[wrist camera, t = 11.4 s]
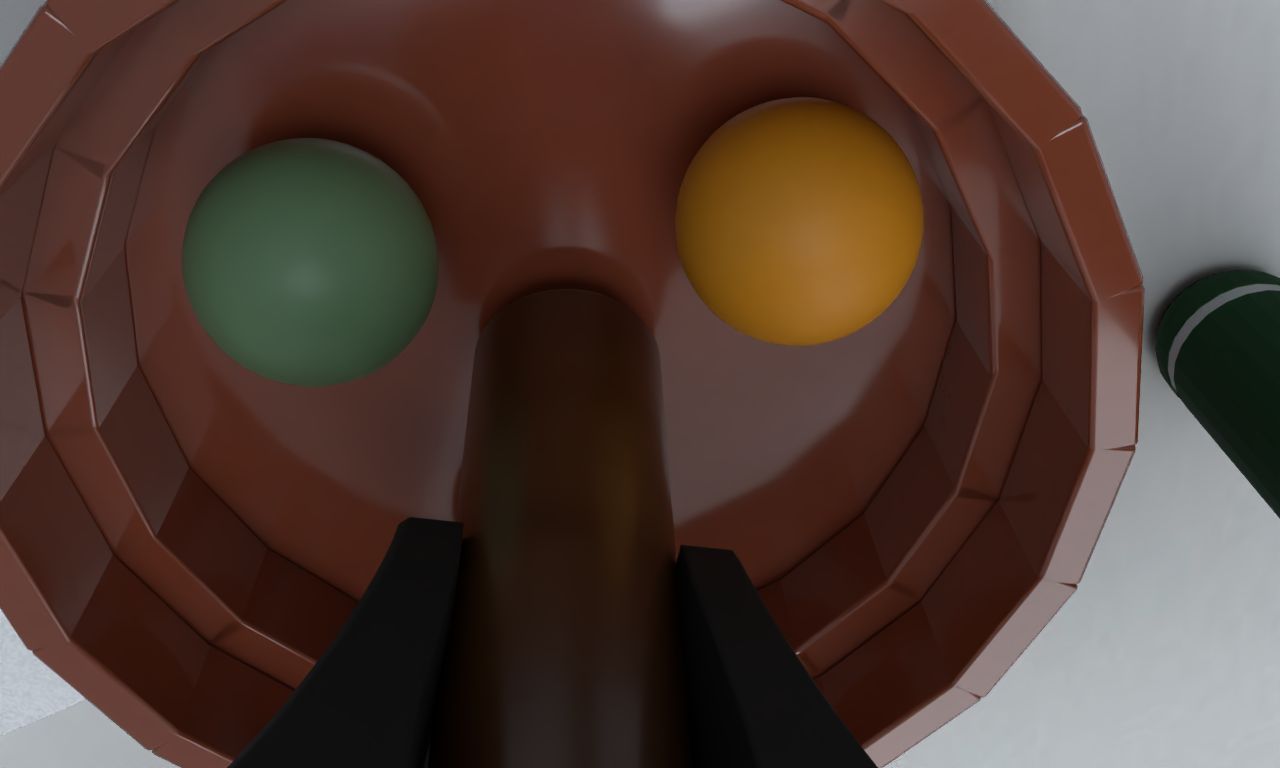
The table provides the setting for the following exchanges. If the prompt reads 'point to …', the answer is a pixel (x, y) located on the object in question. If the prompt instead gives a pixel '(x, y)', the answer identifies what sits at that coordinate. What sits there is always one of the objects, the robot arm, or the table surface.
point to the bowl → (527, 264)
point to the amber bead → (799, 221)
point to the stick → (564, 550)
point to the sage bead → (310, 262)
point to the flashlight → (1230, 368)
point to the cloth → (27, 684)
